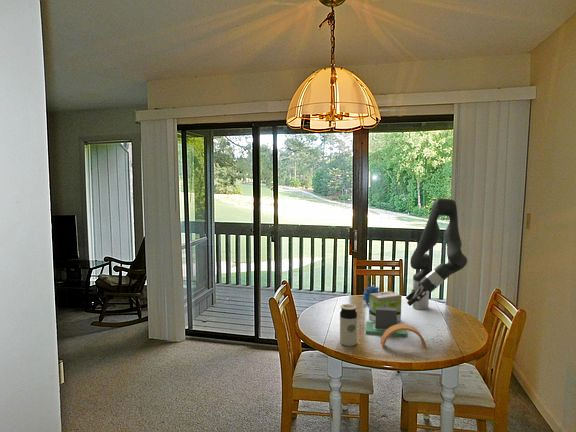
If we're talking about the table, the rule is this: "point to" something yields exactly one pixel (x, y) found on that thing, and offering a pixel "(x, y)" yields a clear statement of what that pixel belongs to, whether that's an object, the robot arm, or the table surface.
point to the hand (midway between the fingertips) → (407, 301)
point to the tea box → (384, 303)
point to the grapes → (370, 292)
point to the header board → (382, 330)
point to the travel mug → (348, 325)
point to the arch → (398, 328)
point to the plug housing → (385, 317)
